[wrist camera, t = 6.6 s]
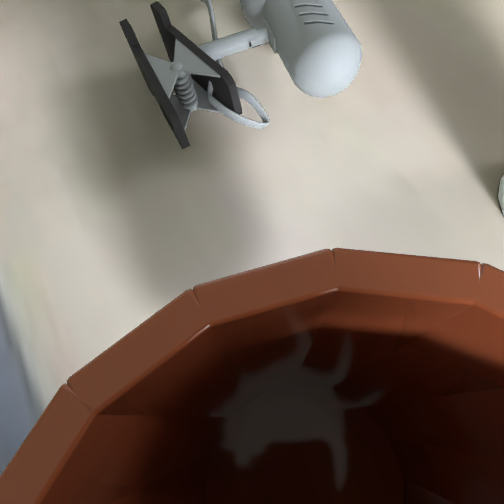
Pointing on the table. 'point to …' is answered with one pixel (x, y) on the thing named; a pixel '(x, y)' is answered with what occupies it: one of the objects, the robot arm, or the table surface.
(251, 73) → the table surface
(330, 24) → the clip-on lamp
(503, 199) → the white cylinder
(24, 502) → the cup
